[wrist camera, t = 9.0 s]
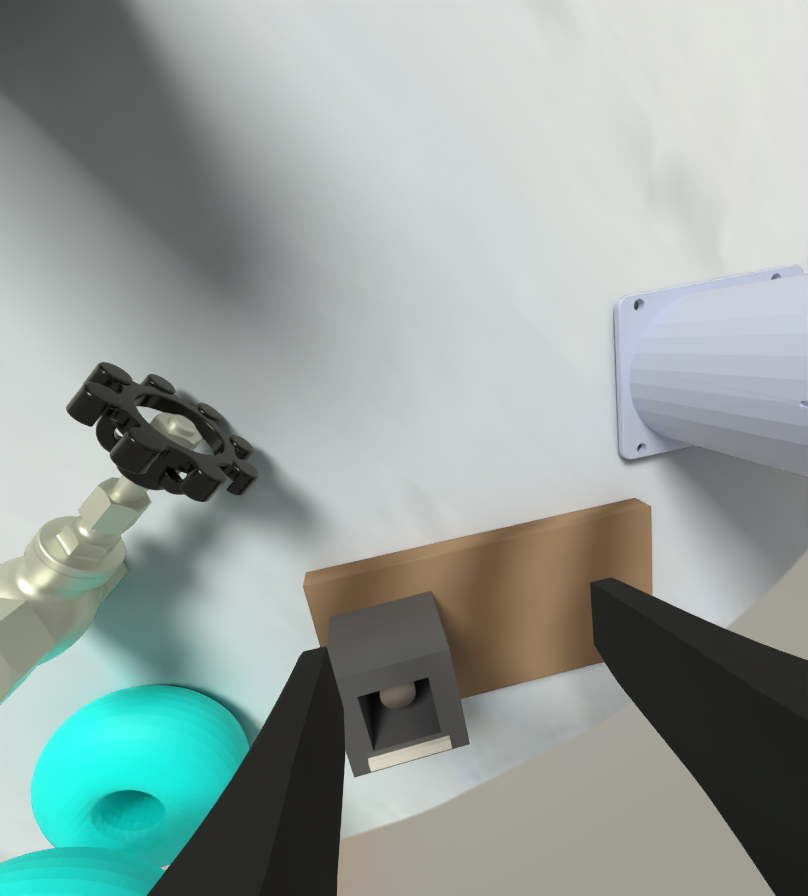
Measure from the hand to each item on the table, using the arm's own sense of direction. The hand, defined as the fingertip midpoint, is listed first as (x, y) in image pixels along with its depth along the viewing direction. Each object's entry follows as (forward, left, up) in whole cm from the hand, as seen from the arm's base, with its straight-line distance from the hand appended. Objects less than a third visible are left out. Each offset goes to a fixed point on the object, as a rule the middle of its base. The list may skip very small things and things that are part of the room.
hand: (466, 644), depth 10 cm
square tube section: (+2, +7, -9) cm, 11 cm away
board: (-3, +7, -10) cm, 12 cm away
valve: (+13, -3, -10) cm, 17 cm away
